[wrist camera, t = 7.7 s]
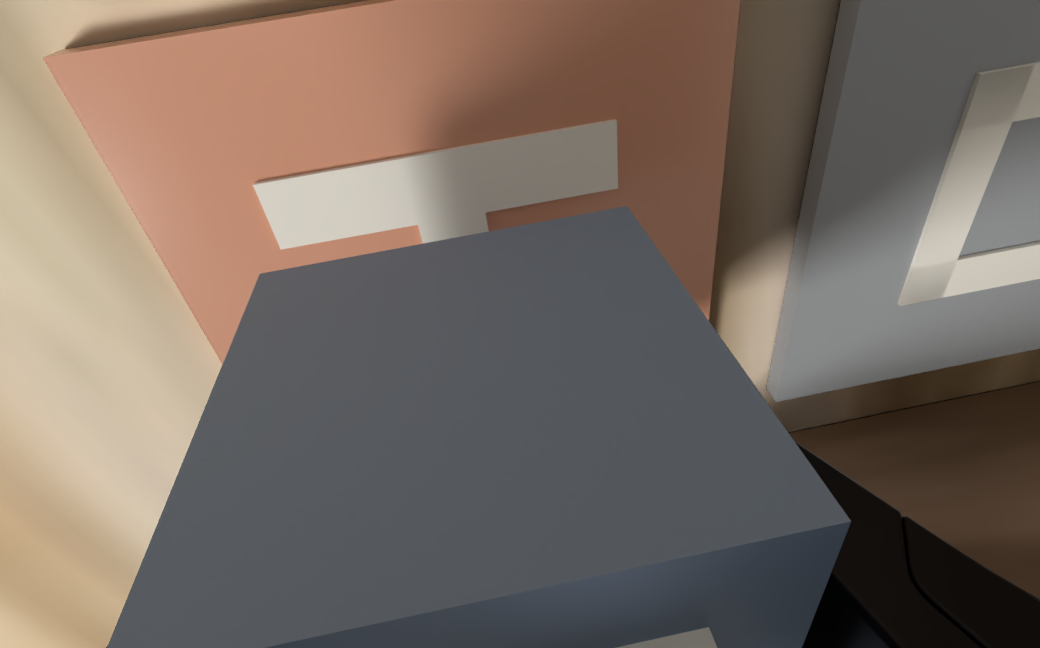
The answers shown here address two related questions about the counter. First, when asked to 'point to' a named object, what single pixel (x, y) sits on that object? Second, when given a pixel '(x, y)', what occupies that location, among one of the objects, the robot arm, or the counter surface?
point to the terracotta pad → (409, 131)
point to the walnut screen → (954, 472)
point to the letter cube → (486, 463)
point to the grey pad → (917, 198)
